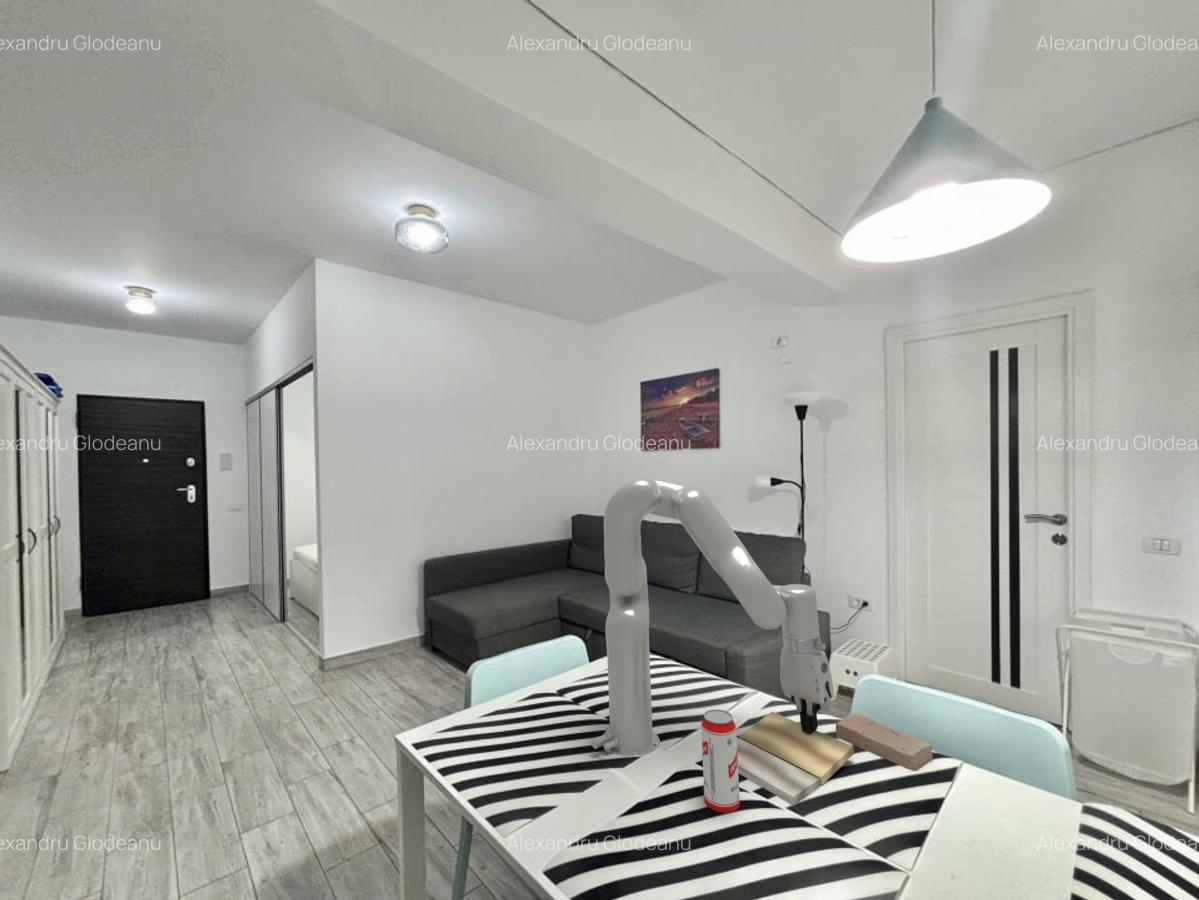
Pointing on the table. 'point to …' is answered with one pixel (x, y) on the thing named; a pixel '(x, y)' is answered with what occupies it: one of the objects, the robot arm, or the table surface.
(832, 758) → the oak plank
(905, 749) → the brick
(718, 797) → the beer can
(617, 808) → the table surface
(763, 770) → the board
